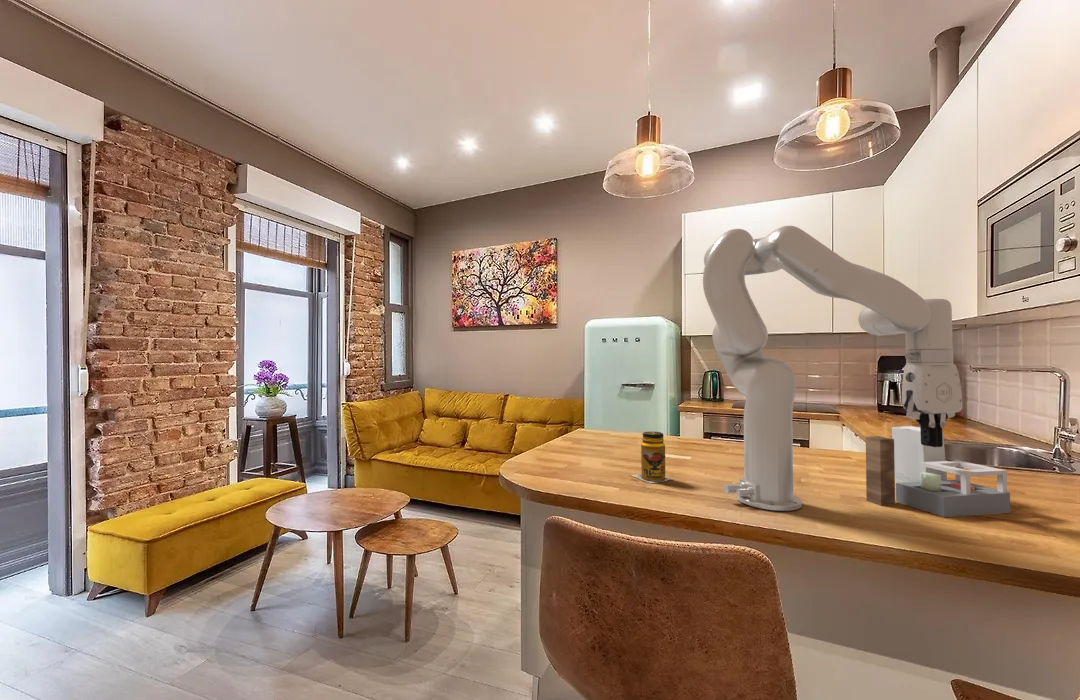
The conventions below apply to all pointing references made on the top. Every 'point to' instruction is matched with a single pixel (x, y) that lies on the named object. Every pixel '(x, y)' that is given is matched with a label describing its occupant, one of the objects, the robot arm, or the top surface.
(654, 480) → the condiment
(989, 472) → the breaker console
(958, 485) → the plunger
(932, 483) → the on button
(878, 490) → the wooden block
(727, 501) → the top surface
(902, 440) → the skincare box
